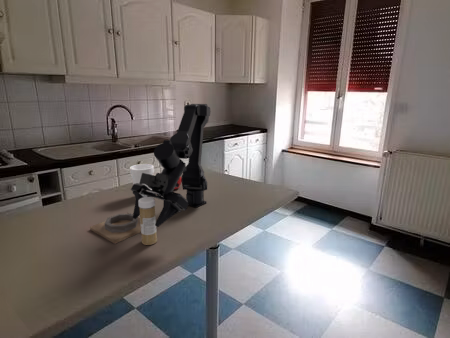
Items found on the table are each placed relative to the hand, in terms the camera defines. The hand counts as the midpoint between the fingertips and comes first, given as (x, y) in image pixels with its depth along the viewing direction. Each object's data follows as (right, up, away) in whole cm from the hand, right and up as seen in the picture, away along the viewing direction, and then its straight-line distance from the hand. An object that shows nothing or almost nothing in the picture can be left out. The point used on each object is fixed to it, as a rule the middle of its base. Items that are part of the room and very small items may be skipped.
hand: (144, 222), depth 82 cm
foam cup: (-11, +3, +39) cm, 40 cm away
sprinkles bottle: (+1, -7, +3) cm, 7 cm away
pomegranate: (-2, +6, +50) cm, 50 cm away
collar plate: (-10, -4, +11) cm, 16 cm away
